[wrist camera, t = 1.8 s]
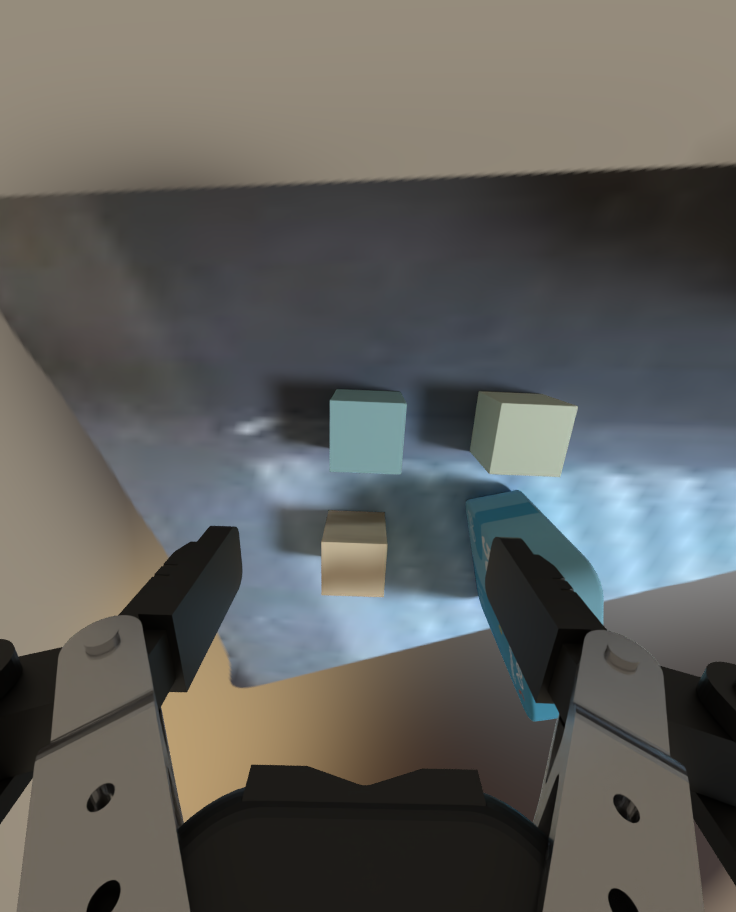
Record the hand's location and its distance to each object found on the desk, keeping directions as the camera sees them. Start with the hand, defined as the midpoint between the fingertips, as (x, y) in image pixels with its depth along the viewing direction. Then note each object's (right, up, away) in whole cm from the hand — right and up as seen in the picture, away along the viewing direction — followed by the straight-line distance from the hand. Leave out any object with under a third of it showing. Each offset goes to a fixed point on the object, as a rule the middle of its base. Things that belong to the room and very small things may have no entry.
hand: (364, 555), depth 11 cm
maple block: (-1, -4, +21) cm, 21 cm away
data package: (+12, -5, +21) cm, 25 cm away
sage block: (+11, +6, +17) cm, 21 cm away
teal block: (0, +6, +17) cm, 18 cm away
